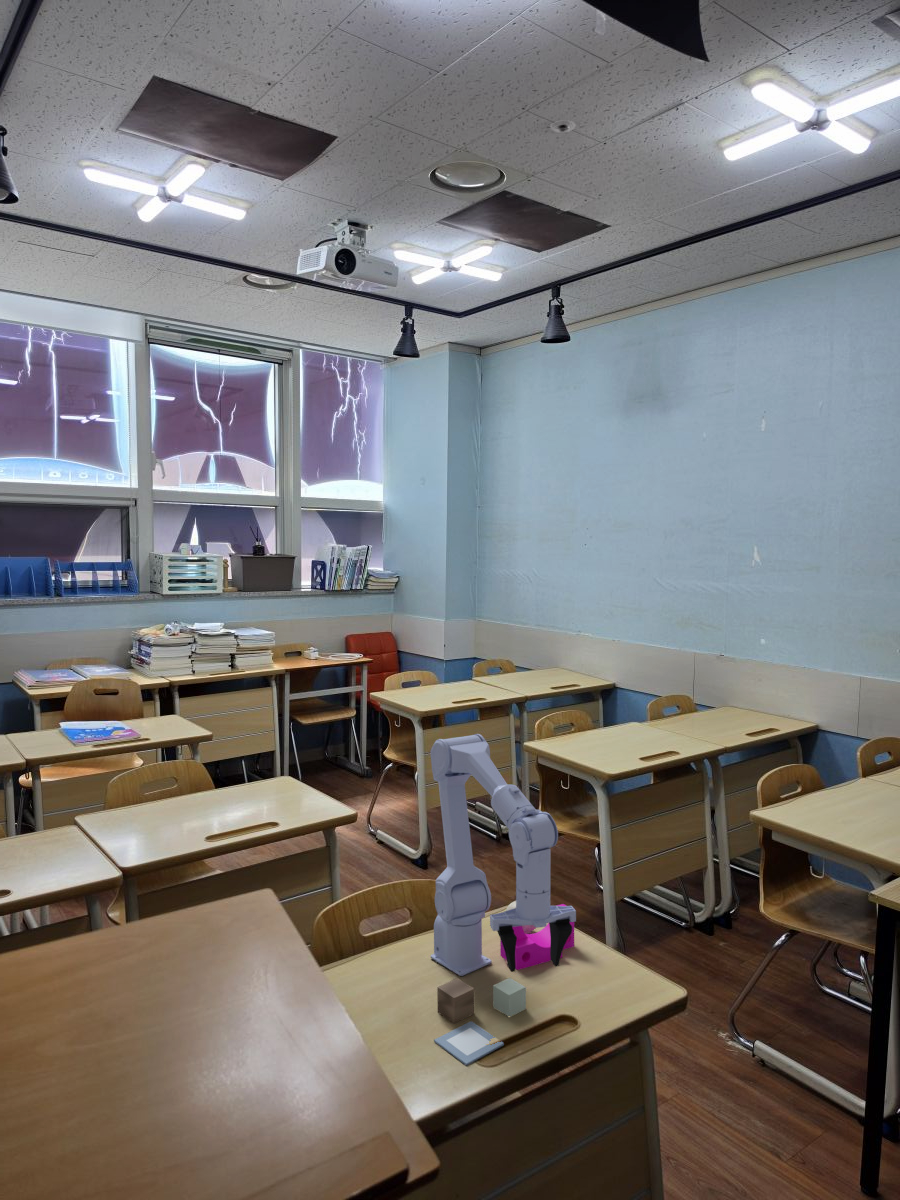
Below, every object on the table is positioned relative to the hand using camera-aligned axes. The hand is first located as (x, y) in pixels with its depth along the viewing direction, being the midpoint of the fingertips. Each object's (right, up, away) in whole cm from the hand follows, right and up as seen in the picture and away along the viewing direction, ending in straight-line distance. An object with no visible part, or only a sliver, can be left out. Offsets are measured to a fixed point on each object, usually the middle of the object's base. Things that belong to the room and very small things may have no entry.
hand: (533, 965), depth 133 cm
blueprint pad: (-11, -10, -5) cm, 16 cm away
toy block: (+4, -9, +24) cm, 26 cm away
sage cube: (-4, -10, +5) cm, 11 cm away
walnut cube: (-13, -10, +4) cm, 17 cm away
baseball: (+1, -8, +32) cm, 33 cm away
